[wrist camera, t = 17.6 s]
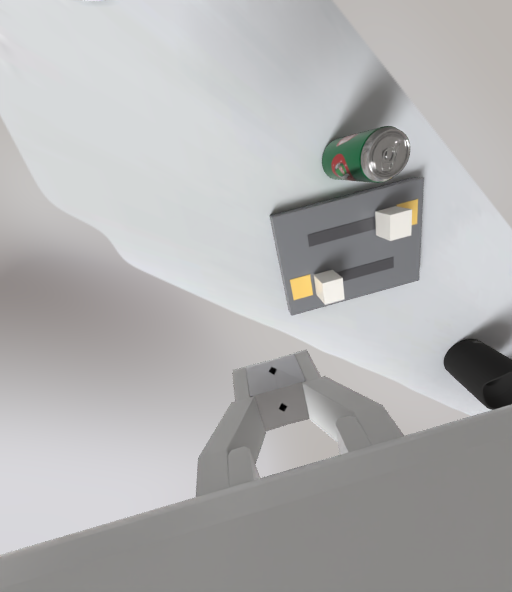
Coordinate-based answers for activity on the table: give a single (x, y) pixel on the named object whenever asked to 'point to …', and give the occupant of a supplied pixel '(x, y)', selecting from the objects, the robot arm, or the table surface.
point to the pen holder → (481, 372)
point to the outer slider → (329, 286)
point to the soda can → (367, 155)
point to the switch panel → (347, 244)
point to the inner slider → (393, 223)
